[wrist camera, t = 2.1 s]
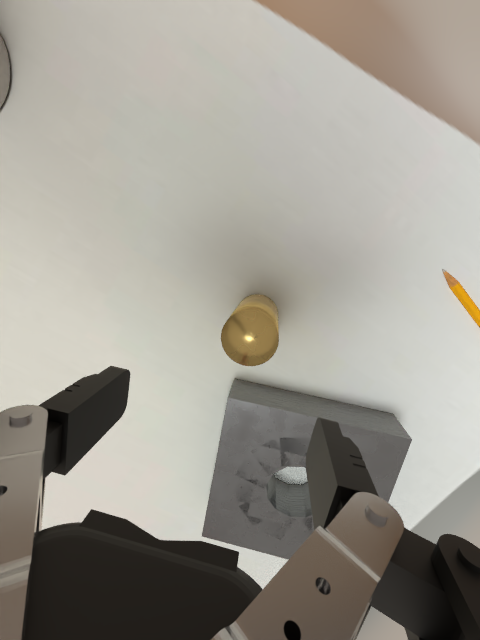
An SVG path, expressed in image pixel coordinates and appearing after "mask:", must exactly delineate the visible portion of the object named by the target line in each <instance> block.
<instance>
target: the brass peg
mask: <svg viewBox="0 0 480 640" xmlns="http://www.w3.org/2000/svg"><path fill="white" fill-rule="evenodd" d="M221 342H222V346H223V348H224V351H225V352H226V354H227V355H228V356H229V357H230V358H231V359H232V360H233V361H235V362H237V363H239V364H241V365H245V366H256V365H260V364H263V363H265V362H266V361H268V360H269V359H270V358H271V357H272V356H273V355H274V353H275V352H276V350H277V347H278V342H279V333H278V311H277V308H276V305H275V304H274V302H273V301H272V300H271V299H270V298H268V297H266V296H264V295H259V294H255V295H250V296H248V297H246V298H244V299H243V300H242V301H241V302H240V304H239V305H238V307H237V308H236V309H235V311H234V312H233V313H232V315H231V316H230V317H229V319H228V320H227V322H226V323H225V325H224V327H223V329H222V333H221Z"/></svg>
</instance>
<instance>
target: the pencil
mask: <svg viewBox="0 0 480 640" xmlns="http://www.w3.org/2000/svg"><path fill="white" fill-rule="evenodd" d="M442 270H443V269H442ZM443 273H444V275H445V278H446V280H447V282H448V285H449V287H450V289H451V290H452V291H453V293H454V294H455V295H456V297H457V298H458V299H459V301H460V302H461V303H462V305H463V306H464V307H465V309H466V310H467V311H468V313H469V314H470V315H471V317H472V318H473V319H474V321H475V322H476V323H477V325H478V326H479V327H480V310H479V309H478V307H477V306H476V305H475V303H474V302H473V301H472V299H471V298H470V297H469V295H468V294H467V292H466V291H465V290H464V288H463V287H462V286H461V284H460V283H459V282H458V281H457V280H456V279H455V278H454V277H452V276H451V275H450V274H449V273H448V272H446V271H445V270H443Z"/></svg>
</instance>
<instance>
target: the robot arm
mask: <svg viewBox="0 0 480 640" xmlns="http://www.w3.org/2000/svg"><path fill="white" fill-rule="evenodd" d="M9 83H10V63H9V58H8V52H7V49H6V47H5V44H4V41H3V39H2V37H1V35H0V108H1V106H2V104H3V103H4V101H5V98H6V95H7V93H8V89H9ZM129 381H130V371H129V370H127V369H122V368H118V367H114V366H110V367H108V368H107V369H105V370H104V371H102V372H101V373H99V374H98V375H97V374H94V375H90V376H87V377H84V378H82V379H80V380H78V381H77V382H75V383H74V384H73V385H70V386H69V387H67V388H66V389H65V390H63V391H61V392H59V393H58V394H56V395H55V396H53V397H51V398H50V399H48V400H47V401H45V402H44V403H42V404H40V405H39V406H36V405H22V406H16V407H12V408H9V409H6V410H4V411H2V412H0V640H356V638H357V636H358V634H359V632H360V629H361V627H362V625H363V623H364V621H365V619H366V617H367V615H368V612H369V610H370V608H371V606H372V607H374V608H375V609H377V610H378V611H380V612H382V613H383V614H385V615H386V616H388V617H389V618H391V619H392V620H394V621H396V622H397V623H399V624H400V625H402V626H403V627H405V630H406V633H407V637H408V640H480V549H479V548H478V547H476V546H475V545H473V544H472V543H470V542H469V541H467V540H465V539H463V538H461V537H458V536H456V535H451V534H444V535H442V536H440V538H439V540H438V542H437V544H433V543H432V542H430V541H428V540H426V539H424V538H422V537H420V536H418V535H417V534H414V533H413V532H411V531H409V530H407V529H406V528H404V524H403V521H402V519H401V517H400V515H399V514H398V512H397V511H396V510H395V509H394V508H393V507H392V506H391V505H390V504H389V503H388V502H386V501H385V500H383V499H382V498H380V497H379V496H378V493H377V491H376V489H375V486H374V484H373V481H372V479H371V477H370V474H369V472H368V470H367V469H366V465H365V462H364V460H363V458H362V455H361V453H360V451H359V448H358V447H357V446H356V445H355V444H354V442H353V441H352V440H351V439H350V438H348V437H344V436H343V435H342V432H341V430H340V427H339V424H338V422H336V421H332V420H328V419H324V418H320V417H318V418H317V420H316V423H315V426H314V429H313V433H312V436H311V439H310V443H309V446H308V450H307V454H306V472H307V480H308V487H309V494H310V502H311V509H312V517H313V524H314V532H313V533H312V534H311V535H310V536H309V537H308V538H307V540H306V541H305V542H304V543H303V544H302V545H301V546H300V548H299V549H298V550H297V551H296V552H295V553H294V554H293V556H292V557H291V558H290V559H289V560H288V561H287V562H286V564H285V565H284V566H283V567H282V568H281V569H280V570H279V572H278V573H277V574H276V575H275V576H274V577H273V578H272V580H271V581H270V582H269V583H268V584H267V585H266V586H265V588H264V589H263V590H262V588H261V587H260V586H259V585H258V584H257V583H256V582H255V581H254V580H253V579H252V578H251V577H250V576H249V575H248V574H246V573H245V572H244V571H242V570H241V569H239V568H238V567H237V563H238V556H239V552H237V551H234V550H230V549H227V548H223V547H220V546H217V545H213V544H210V543H206V542H203V541H164V540H159V539H157V538H155V537H153V536H152V535H150V534H149V533H147V532H145V531H144V530H142V529H141V528H139V527H138V526H136V525H134V524H133V523H131V522H130V521H128V520H126V519H123V518H119V517H116V516H113V515H109V514H106V513H102V512H99V511H95V510H92V509H91V511H90V512H89V513H88V515H87V516H86V518H85V519H84V520H83V522H82V523H67V524H62V525H57V526H54V527H50V528H47V529H44V530H41V528H42V516H43V504H44V493H45V477H47V476H48V475H49V474H50V473H51V472H55V473H58V474H62V475H66V474H67V473H68V472H69V471H70V470H71V469H72V468H73V467H74V466H75V465H76V464H77V463H78V462H79V461H80V459H81V458H82V457H83V456H84V455H85V454H86V453H87V452H88V451H89V450H90V449H91V448H92V447H93V446H94V445H95V444H96V443H97V442H98V441H99V440H100V439H101V438H102V437H103V436H104V435H105V434H106V432H107V431H108V430H109V429H110V428H111V427H112V426H113V425H114V424H115V423H116V422H117V421H118V420H119V419H120V418H121V417H122V415H123V413H124V411H125V409H126V406H127V399H128V390H129Z"/></svg>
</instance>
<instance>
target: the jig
mask: <svg viewBox="0 0 480 640" xmlns="http://www.w3.org/2000/svg"><path fill="white" fill-rule="evenodd" d="M318 417H320V418H324V419H328V420H332V421H336V422H338V424H339V427H340V430H341V432H342V435H343V436H344V437H348V438H350V439H351V440H352V441H353V442H354V444H355V445H356V446H357V447H358V448H359V451H360V453H361V455H362V458H363V460H364V462H365V465H366V469H367V470H368V472H369V474H370V477H371V479H372V481H373V484H374V486H375V489H376V491H377V493H378V496H379V497H380V498H382V499H383V500H385V501H386V502H388V501H389V499H390V496H391V493H392V491H393V488H394V485H395V483H396V480H397V478H398V475H399V472H400V470H401V467H402V464H403V462H404V459H405V457H406V454H407V451H408V449H409V446H410V443H411V441H412V439H411V438H410V436H409V435H408V433H407V432H406V431H405V429H404V428H403V427H402V425H401V424H400V422H399V421H398V420H397V418H396V417H395V416H394V414H391V413H387V412H382V411H378V410H373V409H369V408H364V407H360V406H355V405H351V404H346V403H342V402H337V401H333V400H328V399H324V398H319V397H315V396H310V395H306V394H301V393H297V392H292V391H288V390H283V389H279V388H274V387H270V386H265V385H261V384H256V383H252V382H247V381H243V380H238V379H234V381H233V384H232V387H231V390H230V393H229V396H228V400H227V405H226V410H225V416H224V421H223V426H222V432H221V437H220V442H219V448H218V453H217V458H216V463H215V469H214V474H213V479H212V485H211V490H210V495H209V501H208V506H207V511H206V516H205V522H204V527H203V532H202V536H203V537H207V538H211V539H214V540H218V541H222V542H225V543H229V544H233V545H237V546H240V547H244V548H248V549H252V550H255V551H259V552H263V553H266V554H270V555H274V556H278V557H281V558H285V559H290V558H291V557H292V556H293V554H294V553H295V552H296V551H297V550H298V549H299V548H300V546H301V545H302V544H303V543H304V542H305V541H306V540H307V538H308V537H309V536H310V535H311V534H312V533H313V532H314V524H313V517H312V509H311V502H310V494H309V487H308V482H307V483H305V484H303V485H293V484H287V483H285V482H283V481H281V480H278V479H276V478H275V476H274V475H273V473H275V472H277V471H279V470H281V469H283V468H285V467H287V466H288V467H305V468H306V454H307V450H308V446H309V443H310V439H311V436H312V433H313V429H314V426H315V423H316V420H317V418H318Z"/></svg>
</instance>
